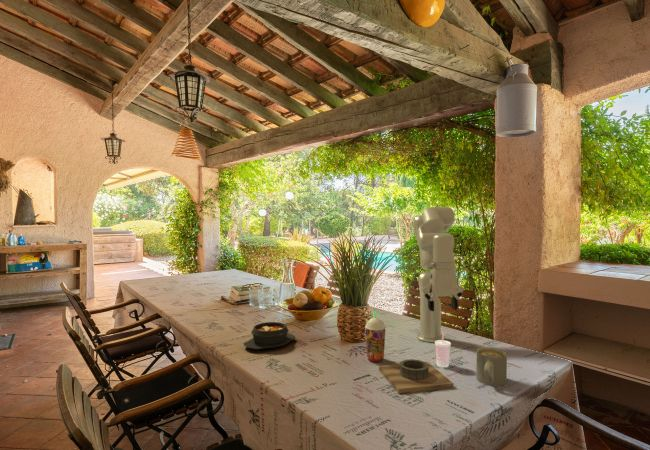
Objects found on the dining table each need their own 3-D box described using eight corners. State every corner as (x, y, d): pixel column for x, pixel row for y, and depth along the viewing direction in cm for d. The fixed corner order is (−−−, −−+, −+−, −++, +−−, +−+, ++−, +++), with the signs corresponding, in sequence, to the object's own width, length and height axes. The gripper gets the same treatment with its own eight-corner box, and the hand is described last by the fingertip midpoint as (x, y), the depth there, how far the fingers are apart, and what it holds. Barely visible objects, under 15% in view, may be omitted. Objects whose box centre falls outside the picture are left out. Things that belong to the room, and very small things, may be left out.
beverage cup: (440, 369, 152) (440, 332, 151) (431, 363, 158) (431, 328, 157) (454, 367, 154) (454, 331, 153) (445, 361, 159) (445, 327, 159)
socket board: (378, 369, 152) (378, 356, 151) (427, 365, 156) (427, 352, 155) (398, 393, 132) (398, 378, 132) (453, 387, 136) (453, 373, 136)
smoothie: (369, 364, 157) (369, 314, 156) (362, 357, 165) (361, 309, 164) (389, 362, 159) (389, 312, 158) (380, 355, 167) (380, 307, 166)
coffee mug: (483, 371, 149) (483, 345, 149) (510, 379, 142) (510, 351, 142) (467, 383, 139) (467, 355, 139) (496, 392, 133) (496, 362, 132)
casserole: (259, 357, 166) (259, 337, 166) (235, 346, 179) (235, 328, 179) (304, 342, 184) (304, 324, 183) (279, 334, 197) (278, 317, 196)
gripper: (426, 268, 149) (426, 313, 149) (468, 266, 152) (468, 310, 153) (418, 265, 156) (418, 308, 157) (458, 264, 160) (458, 306, 160)
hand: (442, 309), depth 155 cm, fingers open, 9 cm apart
